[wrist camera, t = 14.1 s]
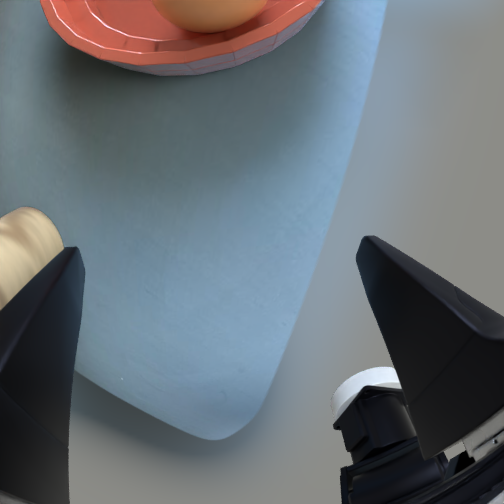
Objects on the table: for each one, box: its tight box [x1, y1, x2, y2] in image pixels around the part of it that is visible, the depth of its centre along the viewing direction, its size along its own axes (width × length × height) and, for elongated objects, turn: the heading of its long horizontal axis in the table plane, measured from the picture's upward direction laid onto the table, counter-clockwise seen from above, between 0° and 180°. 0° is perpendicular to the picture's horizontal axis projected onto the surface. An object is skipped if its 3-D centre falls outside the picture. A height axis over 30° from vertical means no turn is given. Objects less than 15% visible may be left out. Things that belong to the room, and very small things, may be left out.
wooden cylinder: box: [0, 207, 64, 310], centre depth 18 cm, size 7×7×9 cm
